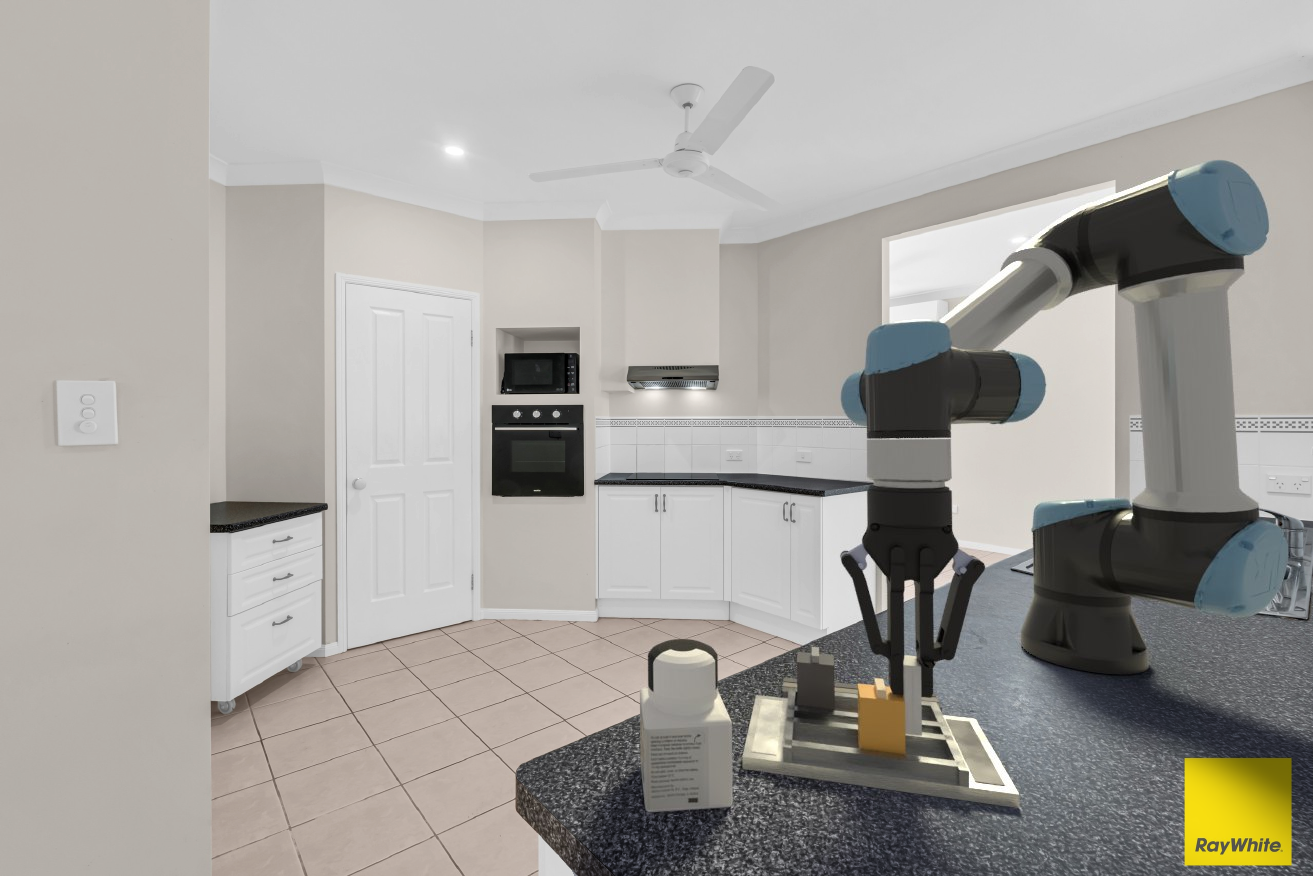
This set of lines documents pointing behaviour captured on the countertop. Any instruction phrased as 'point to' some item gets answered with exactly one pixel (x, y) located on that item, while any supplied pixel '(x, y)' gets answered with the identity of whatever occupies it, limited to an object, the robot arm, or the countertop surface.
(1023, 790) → the countertop surface
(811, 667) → the toggle
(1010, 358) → the robot arm
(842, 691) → the strapped plank bundle
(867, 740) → the toggle
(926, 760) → the panel
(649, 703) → the container
